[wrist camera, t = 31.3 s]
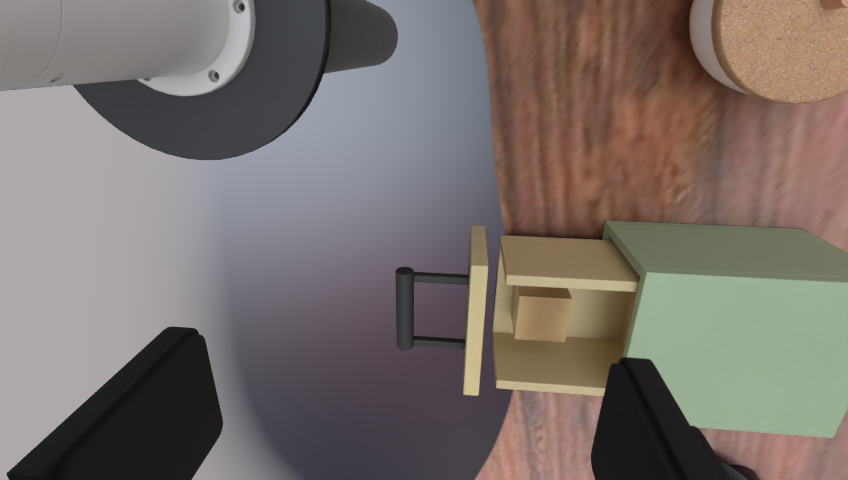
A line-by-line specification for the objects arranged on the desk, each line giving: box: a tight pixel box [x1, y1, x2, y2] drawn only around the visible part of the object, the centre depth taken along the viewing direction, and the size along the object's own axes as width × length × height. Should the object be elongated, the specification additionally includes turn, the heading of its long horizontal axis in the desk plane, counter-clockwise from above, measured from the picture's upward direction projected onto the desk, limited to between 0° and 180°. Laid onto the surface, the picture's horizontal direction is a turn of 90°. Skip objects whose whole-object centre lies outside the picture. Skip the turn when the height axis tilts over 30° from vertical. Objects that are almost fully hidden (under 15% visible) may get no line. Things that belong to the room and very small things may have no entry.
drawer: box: [396, 225, 640, 396], centre depth 36 cm, size 20×11×8 cm, turn 89°
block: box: [510, 285, 572, 342], centre depth 37 cm, size 4×4×4 cm
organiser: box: [602, 220, 848, 438], centre depth 35 cm, size 16×13×10 cm
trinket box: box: [689, 0, 848, 104], centre depth 26 cm, size 11×11×9 cm
